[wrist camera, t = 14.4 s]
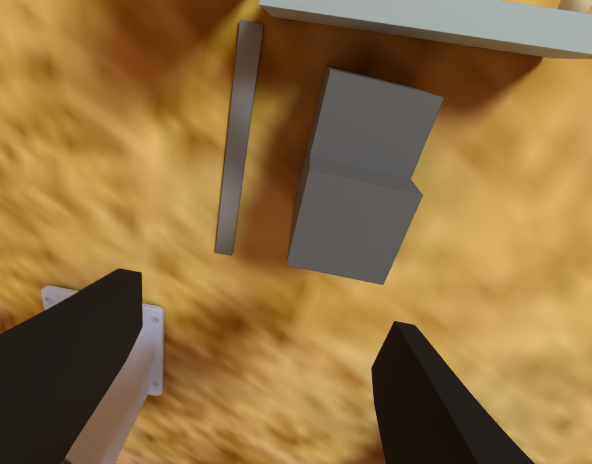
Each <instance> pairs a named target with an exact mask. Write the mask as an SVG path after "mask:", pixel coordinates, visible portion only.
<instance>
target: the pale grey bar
mask: <svg viewBox="0 0 592 464" xmlns="http://www.w3.org/2000/svg"><path fill="white" fill-rule="evenodd" d="M259 5H260V6H261V7H262V8H263V9H264V10H265V11H266V12H268V13H269V14H270V15H271V16H272V17H277V18H284V19H291V20H297V21H304V22H311V23H318V24H324V25H331V26H338V27H345V28H351V29H358V30H365V31H372V32H378V33H385V34H392V35H399V36H405V37H412V38H419V39H426V40H432V41H439V42H446V43H453V44H459V45H466V46H473V47H480V48H486V49H493V50H500V51H507V52H513V53H520V54H527V55H534V56H540V57H547V58H563V59H592V14H588V12H589V10H590V7H591V5H592V0H561V2H560V4H559V7H558V9H553V8H547V7H540V6H534V5H527V4H520V3H514V2H507V1H501V0H259Z"/></svg>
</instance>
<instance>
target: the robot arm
mask: <svg viewBox="0 0 592 464" xmlns="http://www.w3.org/2000/svg"><path fill="white" fill-rule="evenodd" d="M41 297H42V301H43V306H44V310H45V311H43V312H41V313H40V314H38V315H36V316H34V317H32V318H30V319H28V320H26V321H24V322H23V323H21V324H19V325H17V326H15V327H13V328H11V329H9V330H7V331H5V332H3V333H1V334H0V464H114V463H115V461H116V459H117V457H118V455H119V453H120V451H121V449H122V447H123V445H124V443H125V441H126V439H127V437H128V434H129V432H130V430H131V428H132V426H133V424H134V422H135V420H136V418H137V416H138V414H139V412H140V410H141V408H142V406H143V404H144V401H145V399H146V397H147V395H148V394H149V395H155V396H158V395H161V393H162V391H163V370H164V310H163V309H162V308H161V307H159V306H156V305H150V304H145V303H142V273H141V272H135V271H130V270H125V269H120V268H119V269H117V270H115V271H113V272H111V273H110V274H108V275H106V276H104V277H103V278H101V279H99V280H98V281H96V282H94V283H92V284H91V285H89V286H87V287H85V288H84V289H82V290H80V291H76V290H71V289H66V288H60V287H55V286H45V287H44V288H43V289H42V290H41ZM156 318H157V319H156ZM371 369H372V384H373V396H374V405H375V410H376V416H377V421H378V426H379V431H380V436H381V441H382V446H383V451H384V456H385V461H386V464H535V463H534V462H533V461H532V460H531V459H530V458H529V457H528V456H527V455H526V454H525V453H524V452H523V451H522V450H521V449H520V448H519V447H518V446H517V445H516V444H515V443H514V442H513V440H512V439H511V438H510V437H509V436H508V435H507V434H506V433H505V432H504V431H503V429H502V428H501V427H500V426H499V425H498V424H497V423H496V422H495V421H494V419H493V418H492V417H491V416H490V415H489V414H488V413H487V412H486V410H485V409H484V408H483V407H482V406H481V405H480V403H479V402H478V401H477V400H476V399H475V398H474V396H473V395H472V394H471V393H470V392H469V391H468V389H467V388H466V387H465V386H464V385H463V383H462V382H461V381H460V380H459V378H458V377H457V376H456V375H455V374H454V372H453V371H452V370H451V369H450V367H449V366H448V365H447V364H446V362H445V361H444V360H443V359H442V357H441V356H440V355H439V354H438V353H437V351H436V350H435V349H434V348H433V346H432V345H431V344H430V343H429V341H428V340H427V339H426V338H425V336H424V335H423V334H422V333H421V332H420V330H419V329H418V328H417V327H416V326H415V325H412V324H407V323H402V322H397V321H394V323H393V325H392V327H391V329H390V331H389V333H388V335H387V337H386V339H385V341H384V343H383V345H382V347H381V349H380V351H379V353H378V355H377V357H376V360H375V362H374V364H373V366H372V368H371Z"/></svg>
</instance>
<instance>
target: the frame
mask: <svg viewBox="0 0 592 464" xmlns="http://www.w3.org/2000/svg"><path fill="white" fill-rule="evenodd" d="M263 28H264V25H260V24H256V23H252V22H248V21H244V20H240V23H239V33H238V42H237V52H236V61H235V71H234V80H233V90H232V99H231V109H230V118H229V128H228V137H227V147H226V156H225V166H224V175H223V185H222V194H221V204H220V213H219V223H218V232H217V242H216V251H215V252H216V253H221V254H226V255H231V256H232V254H233V247H234V239H235V232H236V225H237V217H238V210H239V203H240V196H241V188H242V181H243V174H244V166H245V159H246V152H247V145H248V137H249V130H250V123H251V115H252V108H253V101H254V93H255V86H256V79H257V72H258V64H259V57H260V50H261V42H262V35H263Z"/></svg>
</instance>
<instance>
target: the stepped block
mask: <svg viewBox="0 0 592 464" xmlns="http://www.w3.org/2000/svg"><path fill="white" fill-rule="evenodd" d="M443 99H444V97H441V96H438V95H435V94H432V93H429V92H426V91H423V90H420V89H417V88H414V87H411V86H407V85H403V84H399V83H395V82H391V81H387V80H383V79H379V78H375V77H370V76H366V75H362V74H358V73H354V72H350V71H346V70H342V69H338V68H333V67H329V66H326V68H325V72H324V76H323V81H322V85H321V89H320V94H319V98H318V103H317V107H316V111H315V116H314V120H313V124H312V129H311V133H310V137H309V142H308V146H307V150H306V155H305V159H304V163H303V168H302V172H301V176H300V181H299V185H298V189H297V194H296V198H295V202H294V209H293V217H292V225H291V233H290V240H289V248H288V256H287V264H286V265H287V266H292V267H297V268H302V269H307V270H312V271H317V272H322V273H327V274H331V275H336V276H341V277H346V278H351V279H356V280H361V281H366V282H371V283H376V284H381V285H384V282H385V280H386V278H387V276H388V273H389V271H390V269H391V267H392V264H393V262H394V260H395V258H396V255H397V253H398V251H399V248H400V246H401V244H402V242H403V239H404V237H405V235H406V233H407V230H408V228H409V226H410V223H411V221H412V219H413V217H414V214H415V212H416V210H417V208H418V205H419V203H420V201H421V199H422V196H423V195H422V193H421V192H420V191H419V189H418V188H417V187H416V186H415V184H414V183H413V182H412V180H411V177H412V175H413V172H414V170H415V167H416V165H417V163H418V160H419V158H420V155H421V153H422V150H423V148H424V145H425V143H426V141H427V138H428V136H429V133H430V131H431V128H432V126H433V123H434V121H435V119H436V116H437V114H438V111H439V109H440V106H441V104H442V101H443Z"/></svg>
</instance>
